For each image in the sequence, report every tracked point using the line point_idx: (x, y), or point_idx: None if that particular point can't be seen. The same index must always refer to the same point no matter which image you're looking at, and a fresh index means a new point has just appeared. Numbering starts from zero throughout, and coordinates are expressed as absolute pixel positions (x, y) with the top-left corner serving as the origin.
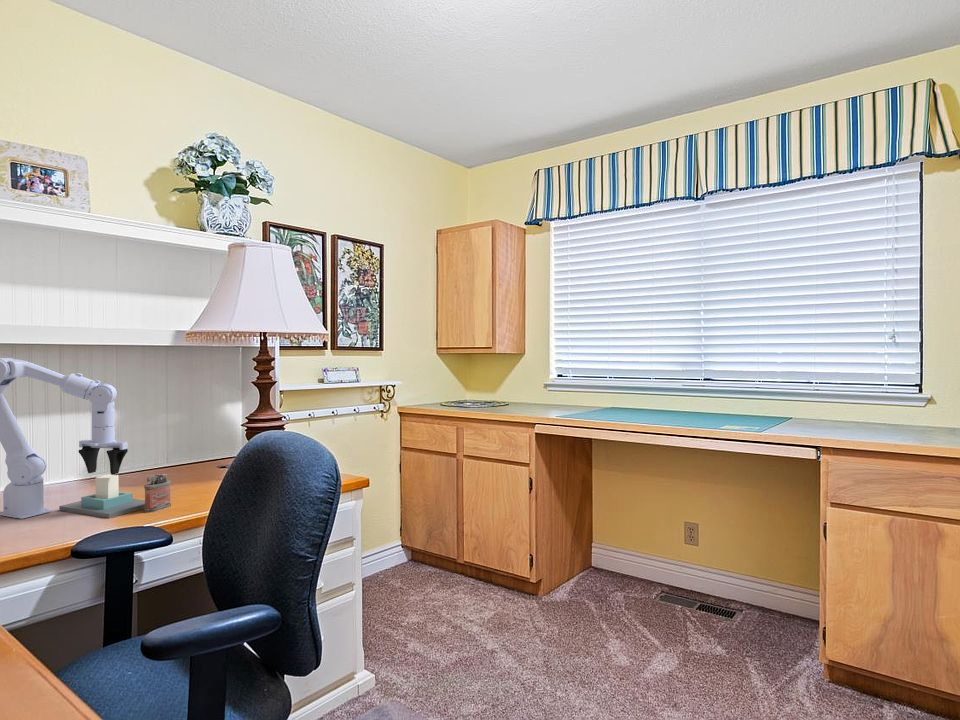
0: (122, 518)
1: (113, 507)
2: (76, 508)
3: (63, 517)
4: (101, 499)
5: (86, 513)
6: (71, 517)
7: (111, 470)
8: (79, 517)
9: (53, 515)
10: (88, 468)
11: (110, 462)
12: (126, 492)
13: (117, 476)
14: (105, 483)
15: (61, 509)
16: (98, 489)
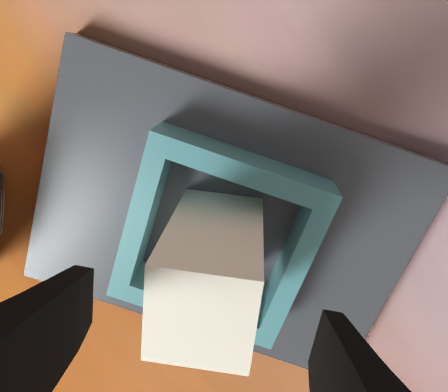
0: (9, 38)
1: (138, 162)
2: (327, 128)
3: (338, 27)
4: (179, 153)
5: (244, 92)
6: (292, 32)
7: (61, 280)
8: (247, 36)
9: (422, 63)
10: (340, 333)
11: (4, 321)
12: None
13: (143, 345)
14: (177, 246)
15: (436, 160)
16: (241, 233)
